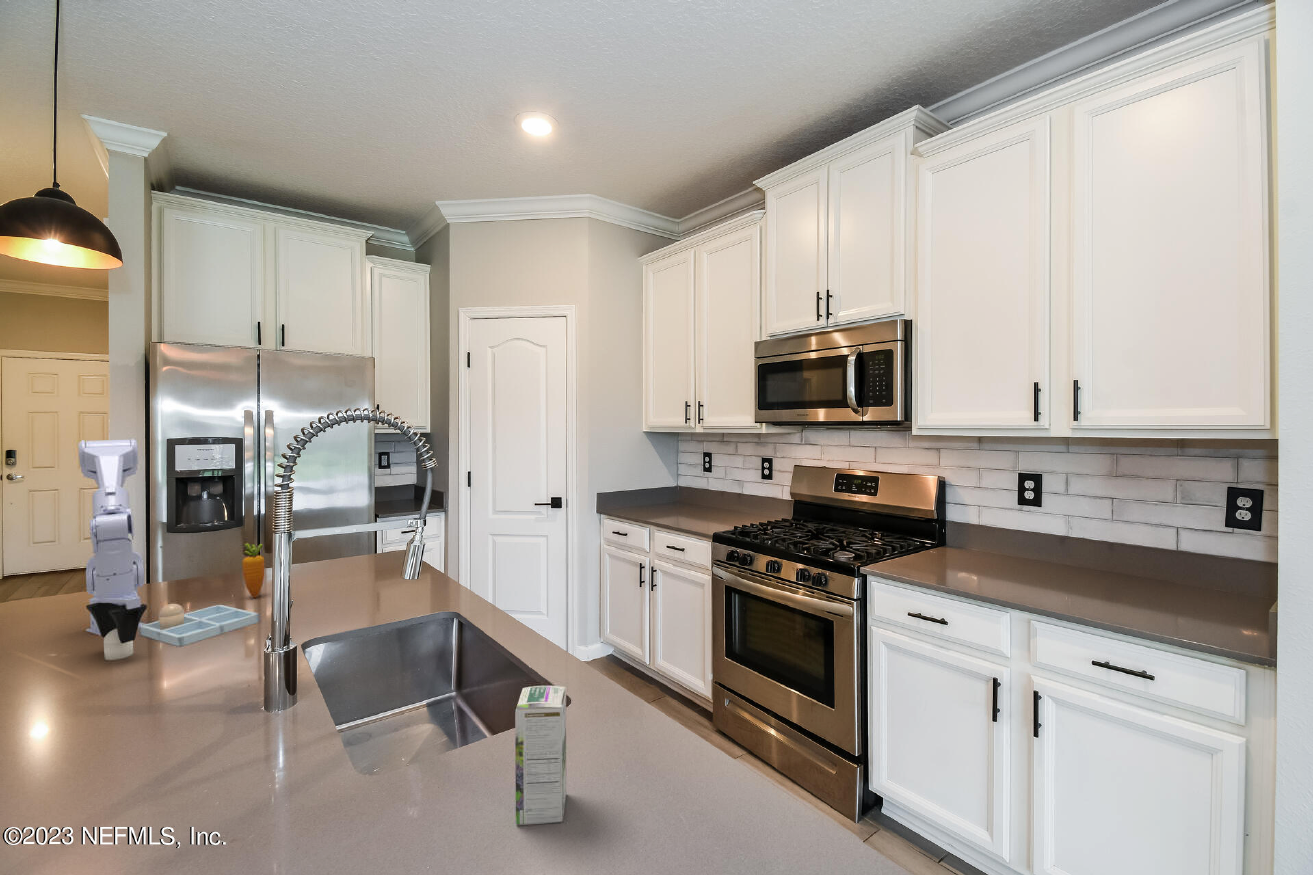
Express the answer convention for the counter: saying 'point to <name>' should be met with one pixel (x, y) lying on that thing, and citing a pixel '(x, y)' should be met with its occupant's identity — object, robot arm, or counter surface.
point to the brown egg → (171, 616)
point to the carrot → (253, 570)
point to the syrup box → (540, 755)
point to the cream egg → (116, 647)
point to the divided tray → (201, 625)
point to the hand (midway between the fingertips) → (118, 638)
